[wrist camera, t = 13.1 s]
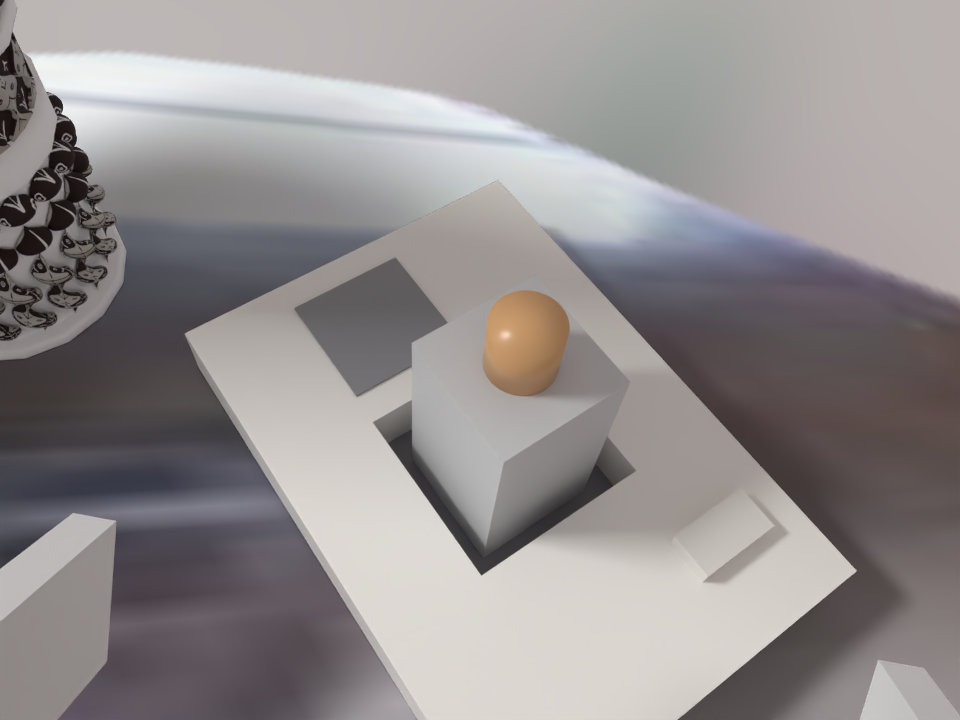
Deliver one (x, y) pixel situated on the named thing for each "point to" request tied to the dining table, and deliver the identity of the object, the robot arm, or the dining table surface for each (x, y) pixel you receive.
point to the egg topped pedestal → (510, 411)
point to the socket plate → (546, 544)
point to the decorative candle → (47, 216)
